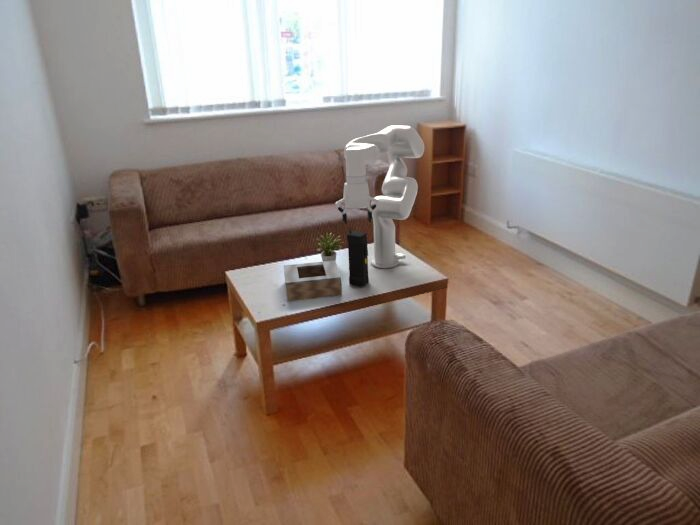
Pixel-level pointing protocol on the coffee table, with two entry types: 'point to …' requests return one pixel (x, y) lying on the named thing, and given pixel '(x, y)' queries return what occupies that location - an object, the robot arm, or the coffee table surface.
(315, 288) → the box
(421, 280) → the coffee table surface
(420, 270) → the coffee table surface
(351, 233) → the portable radio
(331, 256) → the house plant
